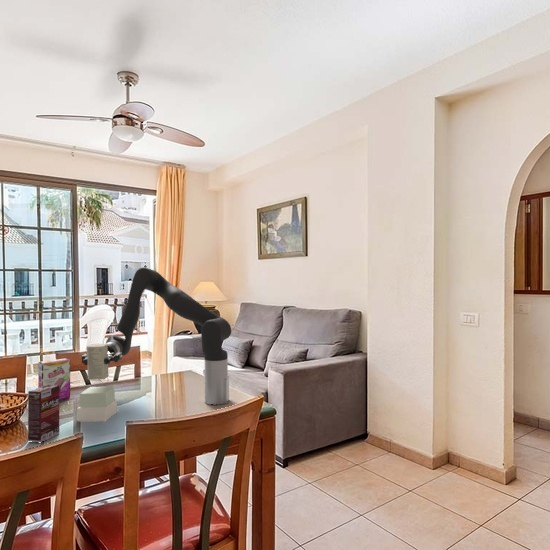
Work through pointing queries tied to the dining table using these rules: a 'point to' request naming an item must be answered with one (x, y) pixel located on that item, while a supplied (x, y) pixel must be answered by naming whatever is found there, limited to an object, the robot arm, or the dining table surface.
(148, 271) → the robot arm
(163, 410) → the dining table surface
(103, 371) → the skincare box
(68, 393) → the candy bar box
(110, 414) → the tower base block
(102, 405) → the tower top block
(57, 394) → the supplement box
